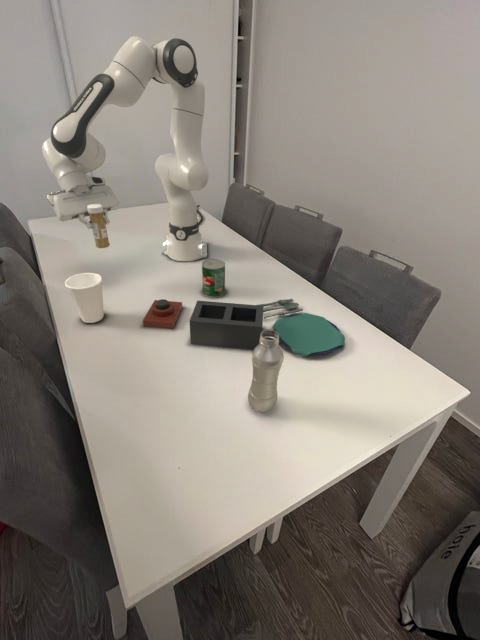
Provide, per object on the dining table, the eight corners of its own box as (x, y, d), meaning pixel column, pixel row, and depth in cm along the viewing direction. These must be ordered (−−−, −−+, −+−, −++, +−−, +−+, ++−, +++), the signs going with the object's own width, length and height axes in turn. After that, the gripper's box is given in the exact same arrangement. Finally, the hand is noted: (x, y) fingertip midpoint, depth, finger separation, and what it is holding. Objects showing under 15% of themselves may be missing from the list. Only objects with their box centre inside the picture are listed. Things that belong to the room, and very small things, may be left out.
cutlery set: (295, 366, 88) (296, 360, 87) (248, 309, 111) (248, 303, 110) (355, 349, 95) (357, 343, 94) (299, 298, 118) (300, 293, 117)
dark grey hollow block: (198, 322, 103) (197, 300, 99) (261, 328, 102) (263, 305, 98) (190, 344, 94) (189, 320, 90) (260, 350, 93) (262, 327, 89)
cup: (116, 313, 106) (109, 276, 98) (95, 330, 98) (86, 291, 91) (90, 306, 108) (81, 270, 101) (67, 323, 100) (56, 284, 93)
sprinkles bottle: (111, 247, 112) (103, 206, 104) (97, 249, 110) (88, 208, 102) (107, 242, 115) (99, 202, 107) (94, 245, 113) (85, 204, 105)
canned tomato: (228, 289, 121) (229, 261, 115) (218, 299, 115) (218, 270, 109) (209, 284, 124) (209, 257, 118) (198, 294, 118) (197, 265, 112)
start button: (158, 303, 105) (158, 298, 104) (170, 304, 105) (169, 299, 104) (155, 309, 102) (154, 304, 101) (167, 310, 102) (166, 305, 101)
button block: (155, 305, 111) (154, 295, 108) (182, 307, 110) (181, 297, 108) (143, 326, 101) (141, 315, 98) (173, 329, 100) (172, 317, 98)
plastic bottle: (245, 394, 80) (250, 325, 68) (274, 393, 80) (283, 325, 69) (248, 416, 74) (254, 345, 63) (278, 415, 75) (289, 344, 64)
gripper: (45, 187, 99) (69, 228, 99) (108, 177, 112) (129, 213, 112) (43, 199, 104) (66, 238, 104) (103, 188, 117) (124, 223, 117)
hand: (99, 225), depth 108 cm, fingers closed on sprinkles bottle, 4 cm apart
